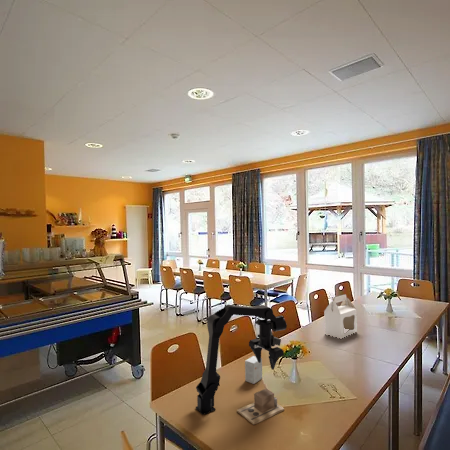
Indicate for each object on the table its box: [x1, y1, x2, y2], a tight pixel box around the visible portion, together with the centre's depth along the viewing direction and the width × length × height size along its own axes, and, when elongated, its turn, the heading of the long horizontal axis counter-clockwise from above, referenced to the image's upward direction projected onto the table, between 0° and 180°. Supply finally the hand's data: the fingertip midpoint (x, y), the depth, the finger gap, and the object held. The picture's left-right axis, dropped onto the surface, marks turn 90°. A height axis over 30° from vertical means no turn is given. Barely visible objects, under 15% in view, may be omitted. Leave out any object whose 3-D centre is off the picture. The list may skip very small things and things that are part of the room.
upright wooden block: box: [253, 388, 275, 413], centre depth 133 cm, size 7×5×6 cm
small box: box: [244, 355, 263, 385], centre depth 160 cm, size 8×6×10 cm
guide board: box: [236, 396, 285, 426], centre depth 132 cm, size 17×11×4 cm, turn 125°
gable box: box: [323, 294, 358, 340], centre depth 228 cm, size 22×13×28 cm, turn 129°
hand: (266, 365), depth 146 cm, fingers open, 9 cm apart
